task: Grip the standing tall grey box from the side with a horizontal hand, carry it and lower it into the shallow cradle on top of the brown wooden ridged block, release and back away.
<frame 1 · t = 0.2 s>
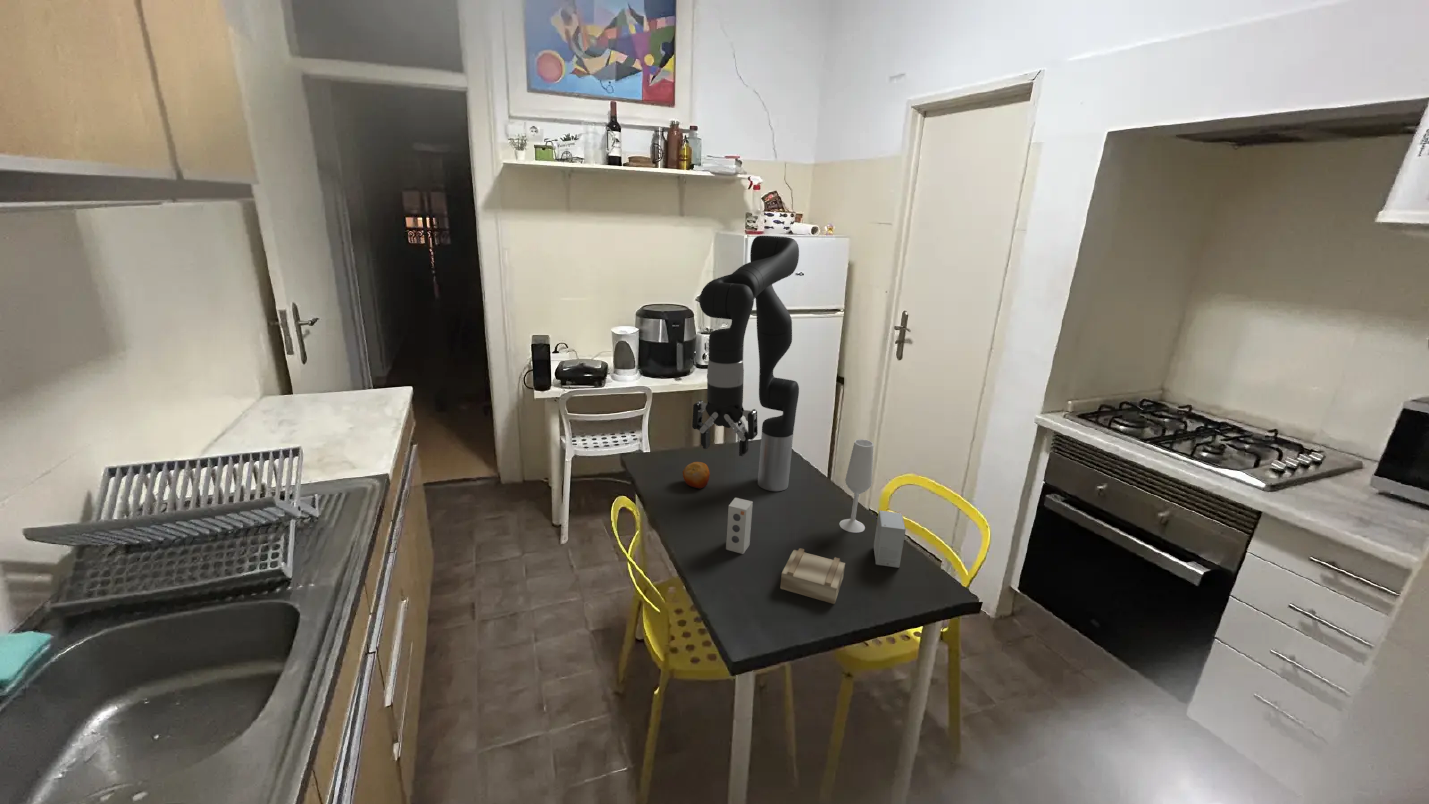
hand: (724, 451, 123), 29 cm above the table, tool pointing down, fingers open, 8 cm apart
champagne flute: (852, 526, 151), on the table
fruit: (696, 485, 169), on the table
brown wooden ridged block: (812, 583, 127), on the table
tall grey box: (737, 546, 139), on the table
small box: (885, 558, 138), on the table
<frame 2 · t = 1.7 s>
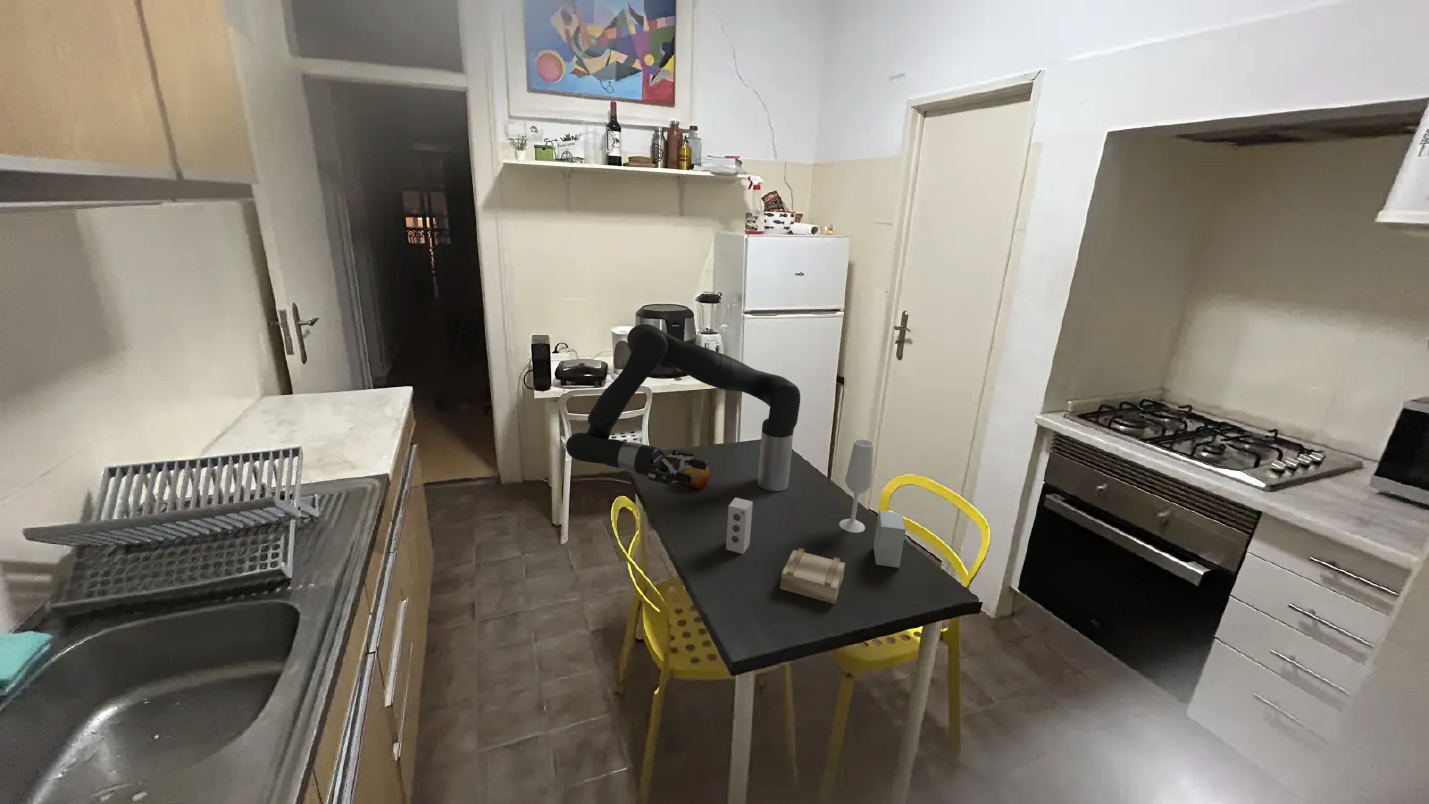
hand: (699, 472, 138), 18 cm above the table, tool horizontal, fingers open, 8 cm apart
nothing on the table moved.
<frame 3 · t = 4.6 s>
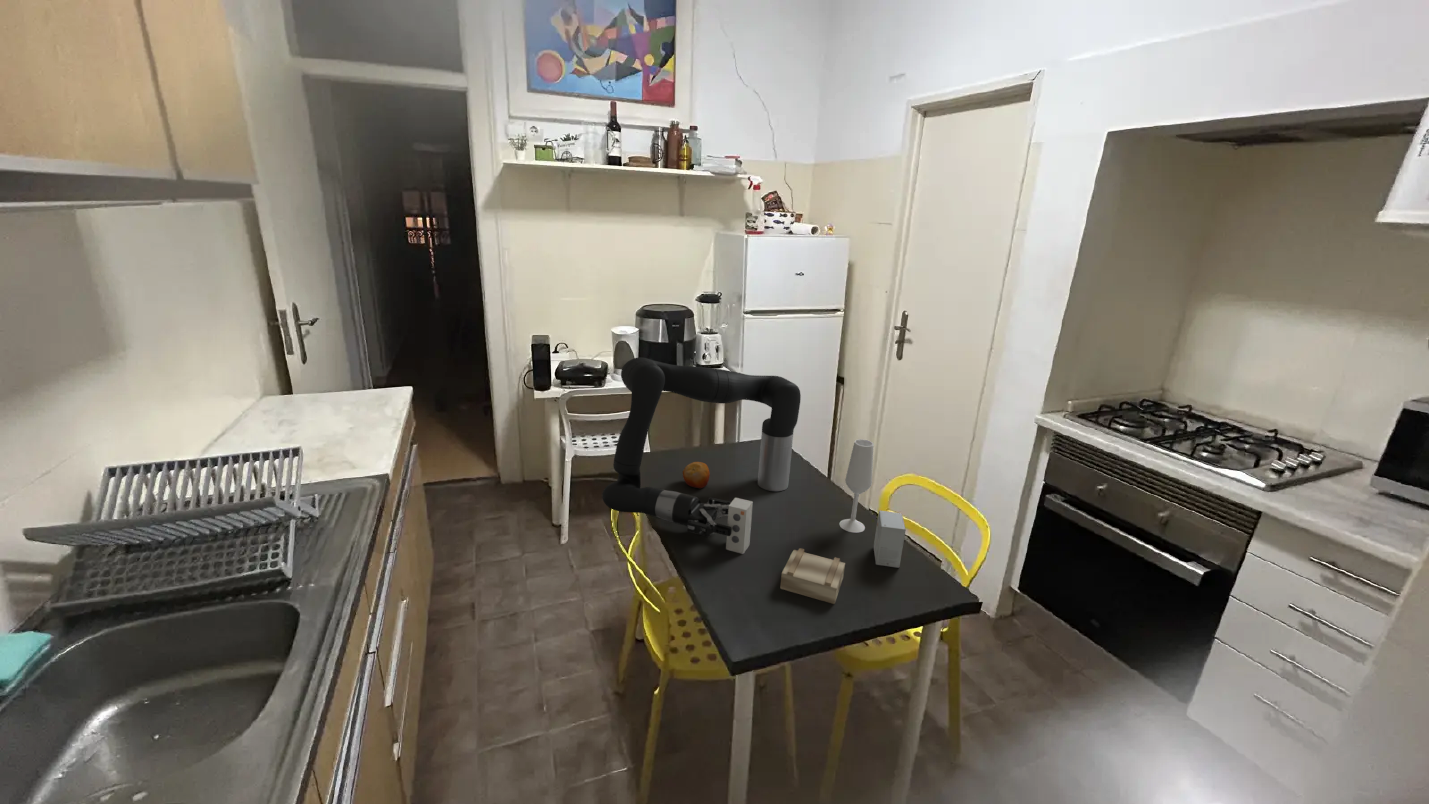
hand: (737, 523, 138), 6 cm above the table, tool horizontal, fingers open, 8 cm apart
nothing on the table moved.
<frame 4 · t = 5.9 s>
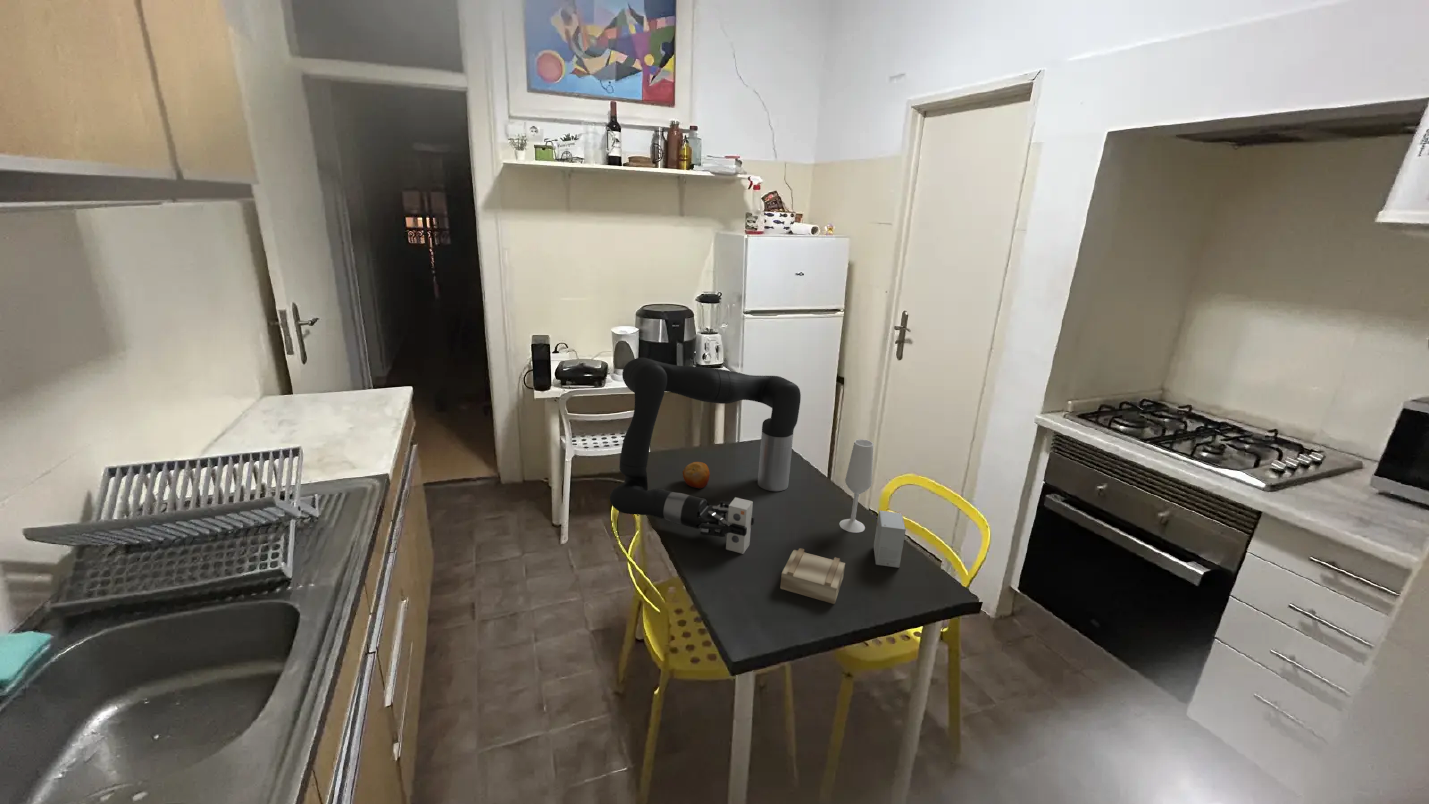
hand: (749, 526, 136), 7 cm above the table, tool horizontal, fingers closed on tall grey box, 4 cm apart
tall grey box: (737, 546, 139), on the table, touching gripper
everything else where it was.
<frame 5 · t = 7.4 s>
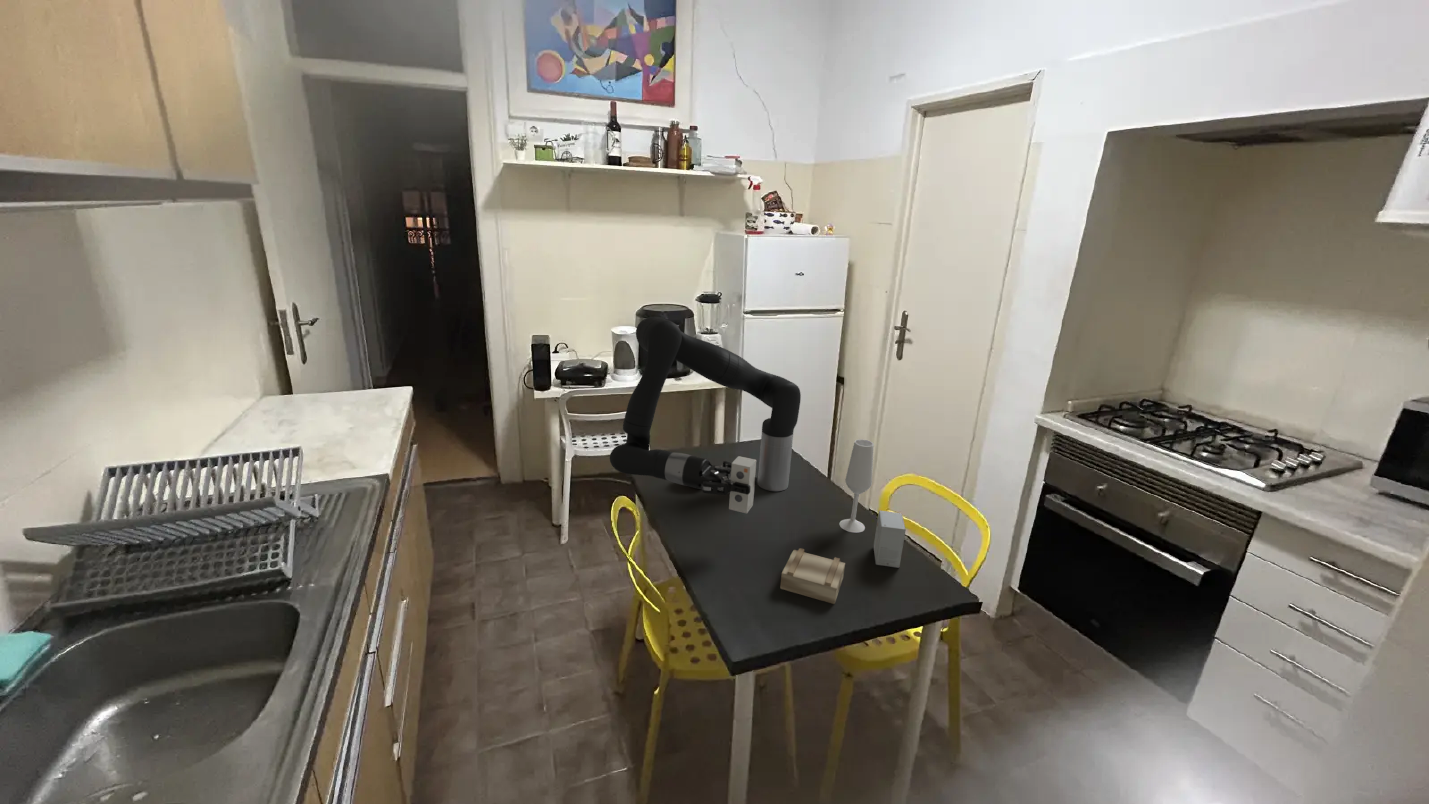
hand: (753, 485, 133), 18 cm above the table, tool horizontal, fingers closed on tall grey box, 4 cm apart
tall grey box: (741, 507, 136), point 11 cm above the table, touching gripper
everything else where it was.
when the fingers open (12 cm above the table, at t = 10.7 s): tall grey box drops 1 cm, resting on brown wooden ridged block.
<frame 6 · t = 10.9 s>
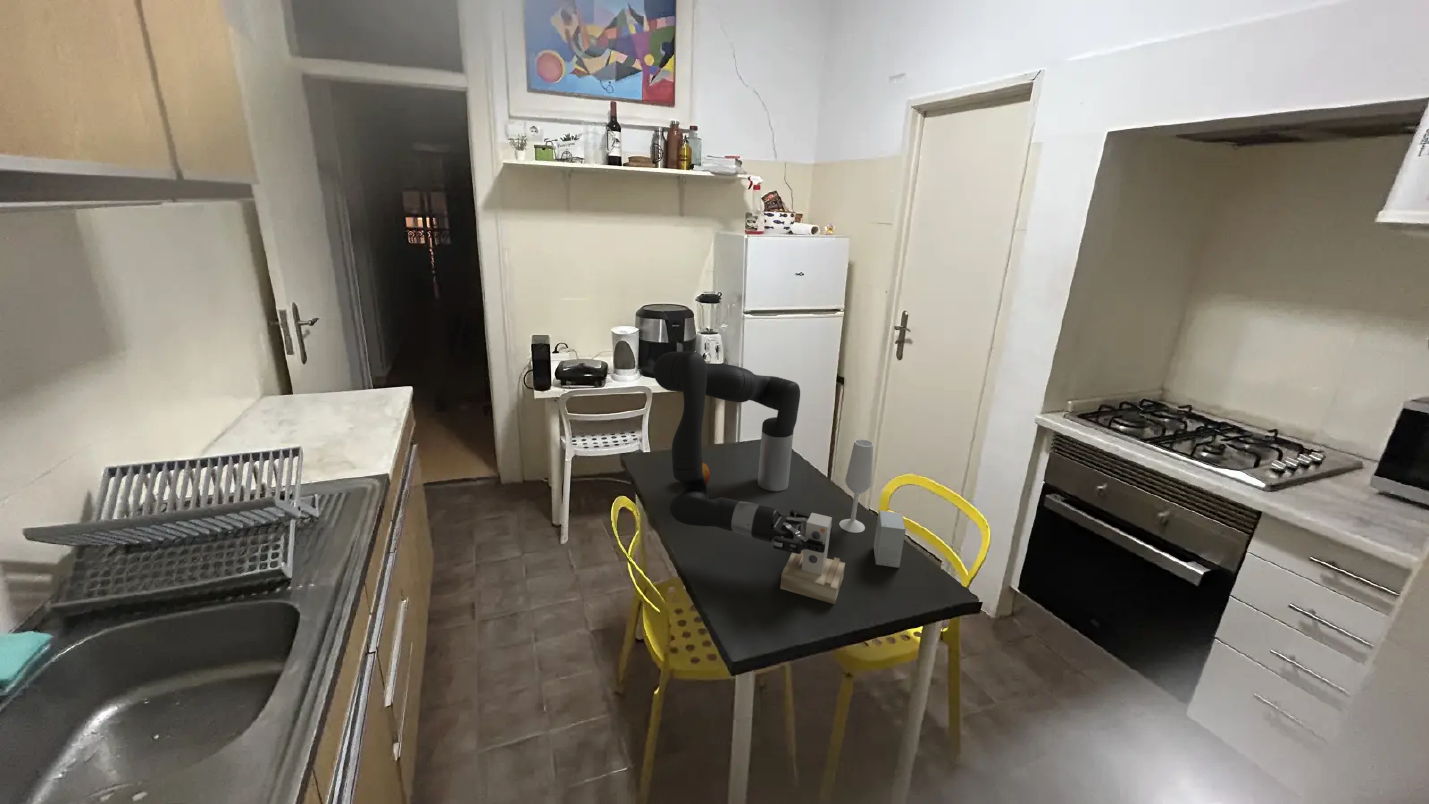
hand: (828, 539, 123), 12 cm above the table, tool horizontal, fingers open, 6 cm apart
tall grey box: (813, 567, 126), point 4 cm above the table, touching brown wooden ridged block
everything else where it was.
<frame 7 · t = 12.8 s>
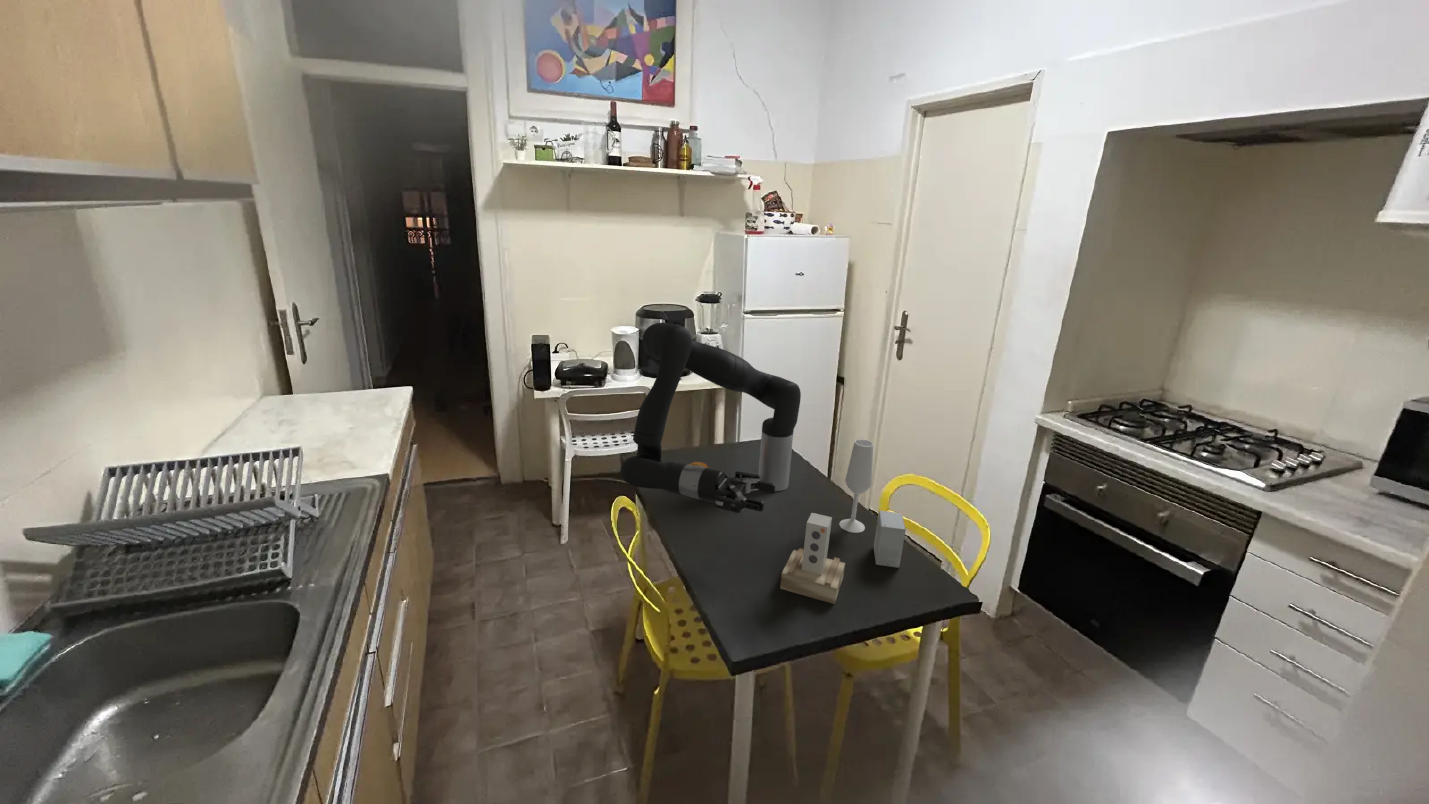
hand: (769, 497, 126), 18 cm above the table, tool horizontal, fingers open, 8 cm apart
nothing on the table moved.
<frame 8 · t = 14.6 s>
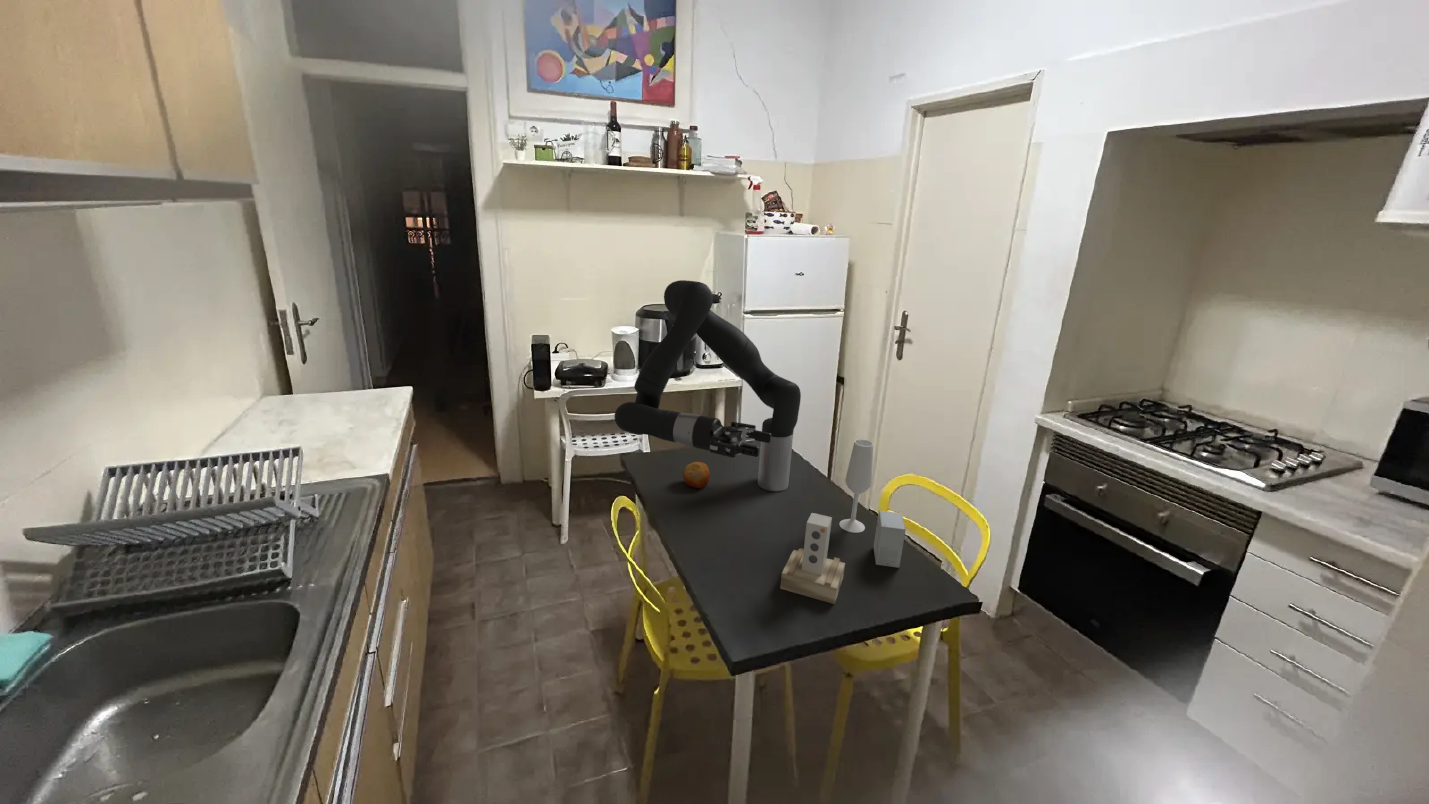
hand: (765, 444, 124), 30 cm above the table, tool horizontal, fingers open, 8 cm apart
nothing on the table moved.
at the end: tall grey box inside the target area on the brown wooden ridged block (0.3 cm from its centre), point 4.0 cm above the brown wooden ridged block's base; tall grey box tilted 0°; the gripper is holding nothing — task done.
